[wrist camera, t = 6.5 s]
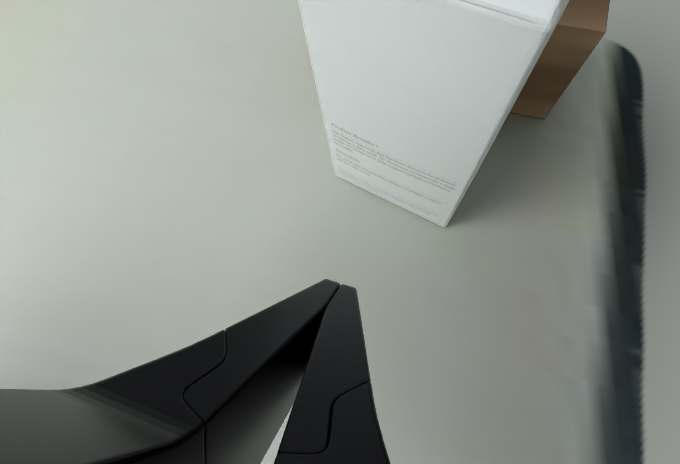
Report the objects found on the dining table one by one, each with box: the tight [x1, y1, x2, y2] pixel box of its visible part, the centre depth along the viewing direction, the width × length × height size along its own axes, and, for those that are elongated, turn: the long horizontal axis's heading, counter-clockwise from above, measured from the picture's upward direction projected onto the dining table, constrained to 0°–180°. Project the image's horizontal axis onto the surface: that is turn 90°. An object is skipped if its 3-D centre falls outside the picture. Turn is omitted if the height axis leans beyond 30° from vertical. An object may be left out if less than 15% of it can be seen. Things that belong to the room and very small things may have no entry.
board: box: [510, 0, 610, 119], centre depth 20 cm, size 2×14×6 cm, turn 72°
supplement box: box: [298, 0, 569, 227], centre depth 15 cm, size 7×7×13 cm
